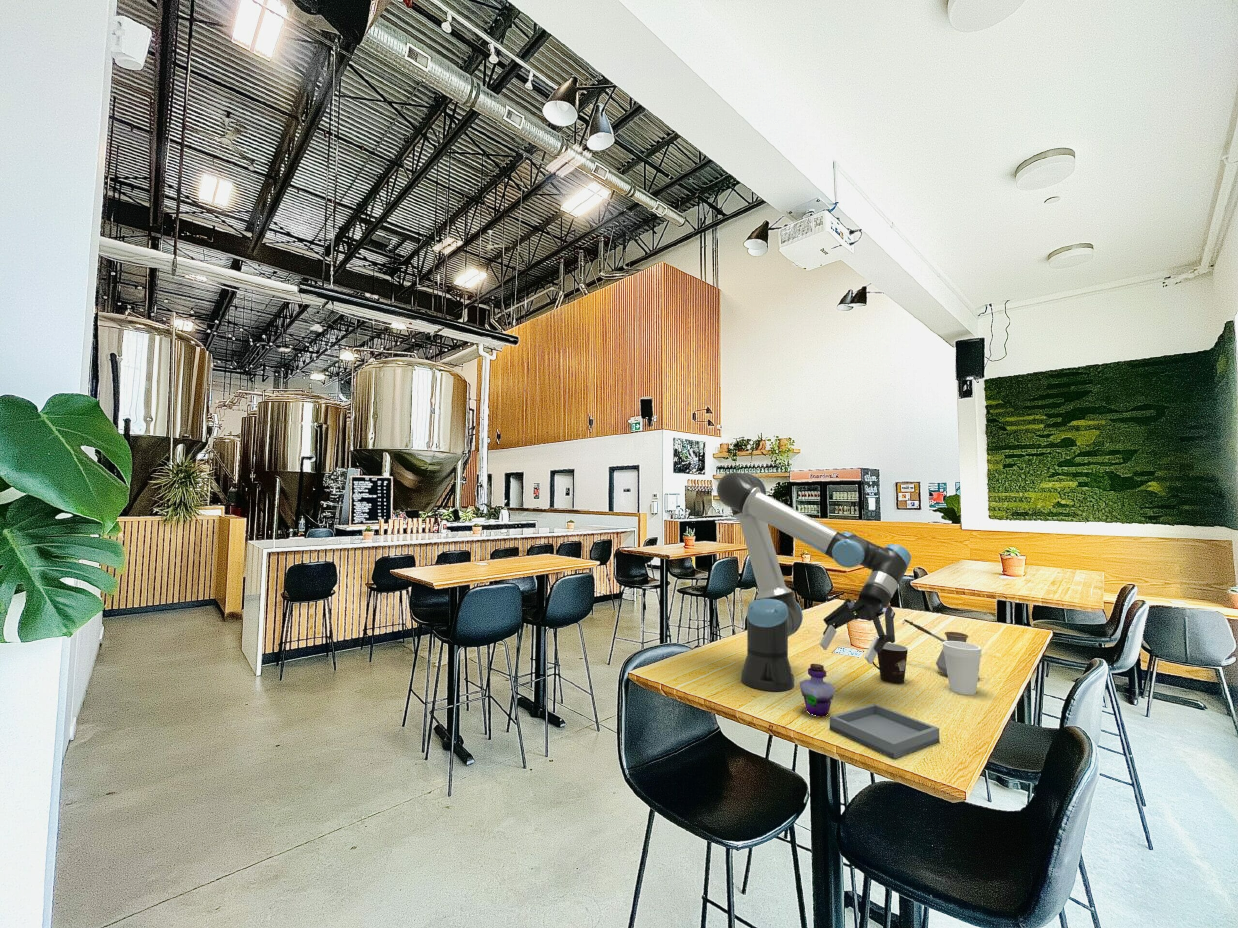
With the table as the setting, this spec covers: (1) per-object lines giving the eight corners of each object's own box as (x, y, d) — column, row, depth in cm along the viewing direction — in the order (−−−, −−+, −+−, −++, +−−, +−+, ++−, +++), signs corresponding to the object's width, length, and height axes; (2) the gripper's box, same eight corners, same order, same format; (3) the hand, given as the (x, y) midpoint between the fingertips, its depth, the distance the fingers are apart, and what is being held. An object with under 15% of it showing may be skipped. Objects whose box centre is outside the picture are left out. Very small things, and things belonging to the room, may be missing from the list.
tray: (829, 729, 123) (829, 715, 123) (874, 715, 131) (874, 703, 132) (894, 758, 109) (893, 744, 109) (939, 741, 117) (939, 727, 118)
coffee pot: (983, 676, 164) (981, 627, 165) (975, 684, 156) (973, 633, 157) (908, 660, 179) (907, 616, 180) (897, 667, 171) (896, 621, 172)
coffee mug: (900, 676, 162) (900, 643, 163) (913, 685, 154) (913, 651, 154) (862, 674, 163) (861, 641, 164) (872, 683, 155) (872, 649, 155)
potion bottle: (798, 716, 130) (798, 667, 131) (800, 703, 138) (800, 657, 139) (836, 722, 127) (835, 671, 128) (835, 709, 135) (834, 661, 136)
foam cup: (985, 691, 150) (983, 645, 151) (979, 699, 143) (978, 651, 144) (947, 682, 157) (946, 639, 157) (940, 690, 150) (939, 644, 151)
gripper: (928, 608, 137) (895, 676, 128) (845, 593, 158) (812, 650, 150) (916, 589, 134) (882, 657, 126) (833, 576, 156) (799, 633, 147)
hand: (844, 653), depth 138 cm, fingers open, 13 cm apart
